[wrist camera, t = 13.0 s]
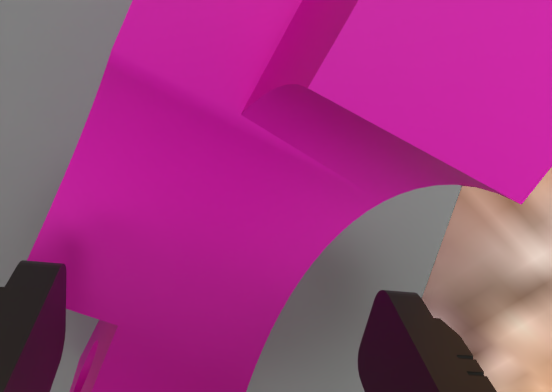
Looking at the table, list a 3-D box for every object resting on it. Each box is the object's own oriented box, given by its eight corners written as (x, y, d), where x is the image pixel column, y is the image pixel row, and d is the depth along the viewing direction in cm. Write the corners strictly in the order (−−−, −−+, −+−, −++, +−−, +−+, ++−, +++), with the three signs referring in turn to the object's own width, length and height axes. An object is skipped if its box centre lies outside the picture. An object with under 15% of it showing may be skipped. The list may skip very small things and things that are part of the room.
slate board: (-24, 417, 19) (-35, 440, 18) (-84, -328, 10) (-112, -355, 10) (360, 428, 22) (367, 448, 21) (561, -154, 13) (586, -161, 12)
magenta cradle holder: (213, -150, 12) (226, -286, 5) (428, -6, 13) (652, 39, 7) (2, 335, 16) (-138, 603, 10) (183, 389, 18) (171, 644, 12)
